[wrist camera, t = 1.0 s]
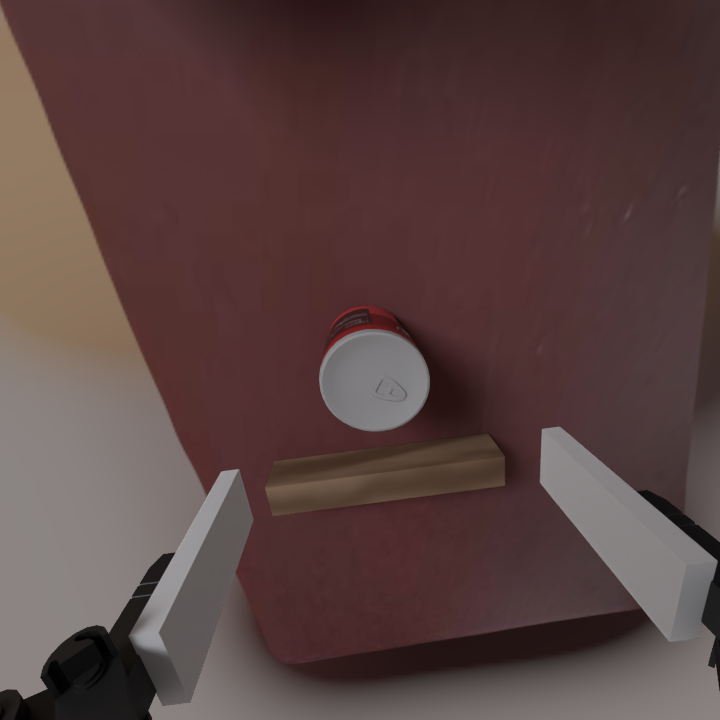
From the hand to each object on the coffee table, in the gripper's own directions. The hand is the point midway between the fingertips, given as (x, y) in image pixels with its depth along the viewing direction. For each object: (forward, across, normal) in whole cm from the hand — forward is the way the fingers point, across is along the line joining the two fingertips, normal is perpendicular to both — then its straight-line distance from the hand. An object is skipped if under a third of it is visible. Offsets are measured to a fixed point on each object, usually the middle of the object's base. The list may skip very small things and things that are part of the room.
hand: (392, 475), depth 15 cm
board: (+21, 0, -14) cm, 25 cm away
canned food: (+21, 0, 0) cm, 21 cm away
